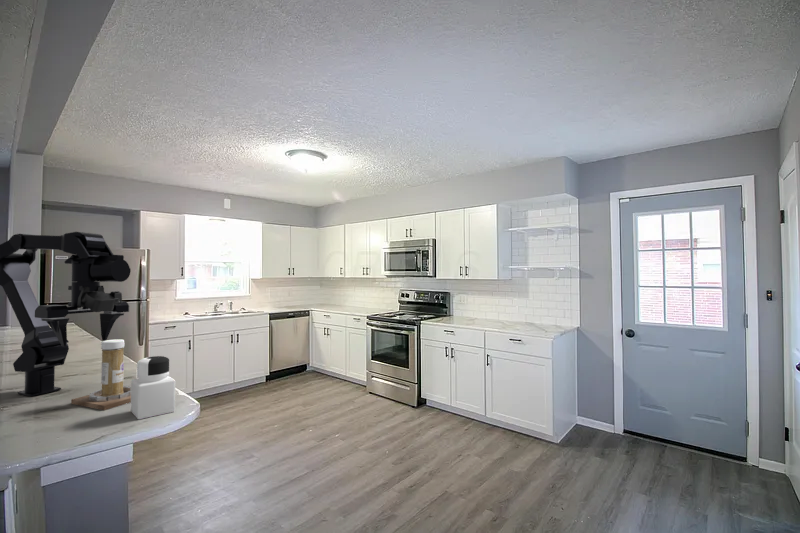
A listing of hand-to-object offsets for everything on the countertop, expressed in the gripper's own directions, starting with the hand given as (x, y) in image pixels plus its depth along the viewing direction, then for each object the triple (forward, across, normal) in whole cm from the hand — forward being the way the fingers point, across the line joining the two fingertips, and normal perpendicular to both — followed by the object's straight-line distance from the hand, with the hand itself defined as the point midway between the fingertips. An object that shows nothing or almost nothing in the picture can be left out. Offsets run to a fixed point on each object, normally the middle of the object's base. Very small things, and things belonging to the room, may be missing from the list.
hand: (85, 343), depth 101 cm
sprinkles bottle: (+12, 0, -11) cm, 16 cm away
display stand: (+13, 0, -11) cm, 17 cm away
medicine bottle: (+13, -2, -28) cm, 31 cm away
